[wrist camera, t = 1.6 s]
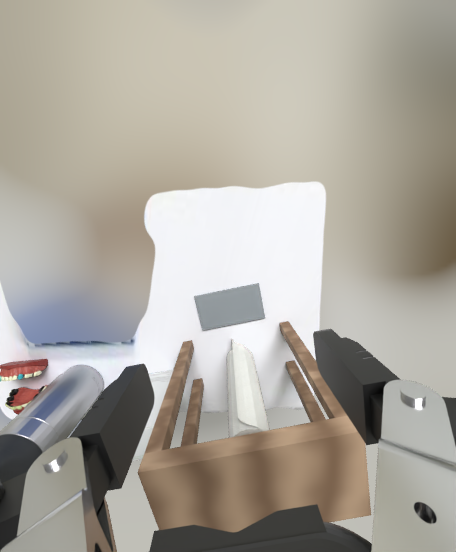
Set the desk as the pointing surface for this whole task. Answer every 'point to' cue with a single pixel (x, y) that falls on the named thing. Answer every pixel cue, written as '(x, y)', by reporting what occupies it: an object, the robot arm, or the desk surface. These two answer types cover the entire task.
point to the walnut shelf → (255, 459)
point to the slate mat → (230, 306)
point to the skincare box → (159, 387)
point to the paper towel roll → (244, 394)
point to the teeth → (19, 371)
